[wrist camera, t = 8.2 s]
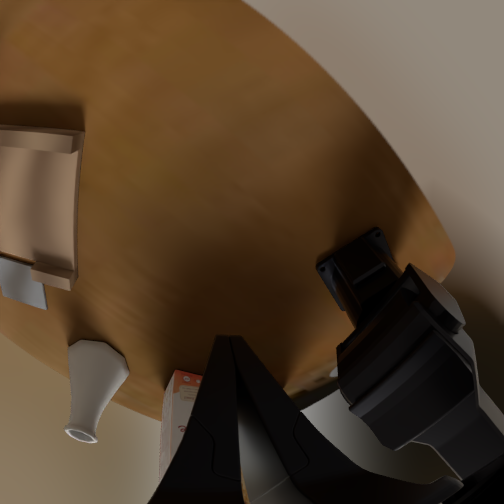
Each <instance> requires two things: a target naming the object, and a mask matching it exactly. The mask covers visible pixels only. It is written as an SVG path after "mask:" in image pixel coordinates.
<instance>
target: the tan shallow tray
mask: <svg viewBox="0 0 504 504" xmlns="http://www.w3.org/2000/svg"><path fill="white" fill-rule="evenodd" d="M84 136H85V132H84V131H76V130H67V129H57V128H46V127H34V126H18V125H0V251H2V252H5V253H9V254H12V255H16V256H19V257H23V258H26V259H30V260H34V261H36V262H35V263H34V265H31V264H27V263H24V262H20V261H17V260H13V259H10V258H6V257H3V256H0V285H1V289H2V293H3V296H5V297H8V298H11V299H14V300H17V301H20V302H23V303H26V304H29V305H32V306H35V307H38V308H41V309H45V310H47V309H48V307H47V301H46V296H45V289H44V284H46V285H50V286H54V287H57V288H61V289H65V290H68V291H70V290H71V289H72V287H73V285H74V283H75V282H76V280H77V278H78V263H77V212H78V192H79V179H80V168H81V159H82V150H83V143H84Z"/></svg>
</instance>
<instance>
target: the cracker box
mask: <svg viewBox="0 0 504 504" xmlns="http://www.w3.org/2000/svg"><path fill="white" fill-rule="evenodd" d="M201 379H202V376H201V375H197V374H192V373H188V372H184V371H180V370H175V371H174V374H173V375H172V378H171V380H170V382H169V384H168V386H167V388H166V391H165V393H164V398H163V410H162V423H161V440H160V466H159V467H160V468H159V483H160V482H161V480H162V478H163V476H164V474H165V472H166V470H167V468H168V466H169V464H170V462H171V460H172V459H173V457H174V455H175V453H176V451H177V448H178V446H179V444H180V442H181V440H182V437H183V434H184V432H185V429H186V426H187V423H188V420H189V417H190V414H191V411H192V408H193V404H194V401H195V398H196V395H197V392H198V389H199V386H200V383H201ZM241 483H242V492H243V498H244V502H245V504H250V502H249V498H248V494H247V490H246V486H245V482H244V478H243V474H242V469H241Z"/></svg>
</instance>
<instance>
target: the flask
mask: <svg viewBox="0 0 504 504" xmlns="http://www.w3.org/2000/svg"><path fill="white" fill-rule="evenodd" d="M68 361H69V373H70V386H71V396H72V399H71V415H70V420H69V423H68V425H66V426H65V427H64V430H65V431H66V432H67V434H68V435H69V436H71V437H73V438H75V439H77V440H79V441H83V442H88V443H95V442H97V437H96V435H95V433H96V427H97V423H98V421H99V419H100V416H101V414H102V411H103V410H104V408H105V406H106V405H107V404H108V402H109V401H110V399H111V398H112V397H113V395H114V394H115V392H116V391H117V390H118V388H119V387H120V386H121V384H122V383H123V382H124V381H125V379H126V378H127V376H128V375H129V374H130V373H129V370H128V367H127V364H126V361H125V358H124V357H123V356H121V355H120V354H119V353H118V352H116V351H115V350H114V349H112V348H111V347H110V346H109V345H108V344H106V343H105V342H97V341H88V340H79V341H78V342H76V343H75V344H73V345H71V346H70V347H68Z"/></svg>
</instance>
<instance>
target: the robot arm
mask: <svg viewBox="0 0 504 504" xmlns="http://www.w3.org/2000/svg"><path fill="white" fill-rule="evenodd" d="M377 232H378V234H377V235H376V233H377ZM321 267H324V268H323V269H321ZM316 270H317V271H318V273H319V275H320V276H321V278H322V280H323V281H324V283H325V284H326V286H327V288H328V289H329V291H330V293H331V294H332V296H333V297H334V299H335V301H336V302H337V304H338V306H339V307H340V309H341V310H342V311H346V313H347V315H348V317H349V319H350V321H351V322H352V324H353V326H354V328H355V330H354V331H353V332H352V333H351V334H350V335H349V336H348V337H347V339H346V340H345V341H344V342H343V343H340V344H339V345H338V346H337V347H336V352H337V368H338V379H337V384H338V386H339V389H340V392H341V394H342V396H343V397H344V399H345V400H346V401H347V403H349V405H350V407H349V410H350V411H351V412H352V413H354V414H355V415H356V416H358V417H359V418H361V419H362V420H363V421H364V422H365V423H366V424H367V425H368V426H369V427H370V429H371V430H372V431H373V432H374V434H375V435H376V437H377V438H378V440H379V441H380V442H381V444H382V445H384V446H386V447H388V448H390V449H392V450H394V451H395V450H398V449H400V448H401V447H403V446H404V445H406V444H407V443H409V442H411V441H412V442H417V443H422V444H427V445H430V446H431V447H432V448H433V449H434V450H435V451H436V452H437V453H438V455H439V456H440V457H441V458H442V459H443V460H444V461H445V462H446V464H447V465H448V466H449V467H450V468H451V469H452V470H453V471H454V472H455V473H456V475H457V476H458V477H459V478H460V479H461V481H459V480H457V479H455V478H452V477H449V476H443V477H441V478H439V479H438V480H436V481H434V482H432V483H430V484H415V483H411V482H406V481H402V480H398V479H394V478H390V477H386V476H383V475H379V474H375V473H372V472H369V471H367V470H365V469H362V468H361V467H359V466H358V465H356V464H355V463H354V462H352V461H351V460H350V459H349V458H348V457H347V456H346V455H344V454H343V453H342V452H341V451H340V450H339V449H337V448H336V447H335V446H334V445H333V444H332V443H331V442H330V441H329V440H327V439H326V438H325V437H324V436H323V435H322V434H321V433H320V432H319V431H318V430H317V429H316V428H315V427H314V425H313V424H312V423H311V422H310V421H309V420H308V419H307V418H306V416H305V415H304V414H303V413H302V412H300V409H299V408H298V407H297V406H296V405H295V403H294V402H293V401H292V400H291V398H290V397H289V396H288V395H287V394H286V392H285V391H284V390H283V389H282V387H281V386H280V385H279V384H278V382H277V381H276V380H275V379H274V377H273V376H272V375H271V374H270V372H269V371H268V370H267V369H266V367H265V366H264V365H263V363H262V362H261V361H260V360H259V358H258V357H257V356H256V354H255V353H254V352H253V350H252V349H251V348H250V347H249V345H248V344H247V343H246V341H245V340H244V339H243V337H242V336H239V335H230V336H229V337H228V335H216V336H215V339H214V342H213V345H212V348H211V351H210V355H209V358H208V361H207V364H206V367H205V370H204V373H203V376H202V379H201V383H200V386H199V389H198V392H197V395H196V398H195V401H194V404H193V408H192V411H191V414H190V417H189V420H188V423H187V426H186V429H185V432H184V434H183V437H182V440H181V442H180V444H179V446H178V448H177V451H176V453H175V455H174V457H173V459H172V460H171V462H170V464H169V466H168V468H167V470H166V472H165V474H164V476H163V478H162V480H161V482H160V483H159V485H158V487H157V489H156V491H155V492H154V494H153V496H152V497H151V499H150V500H149V502H148V503H147V504H245V502H244V498H243V492H242V483H241V469H242V474H243V478H244V482H245V486H246V490H247V494H248V498H249V502H250V504H504V415H503V414H502V413H501V411H500V410H499V409H498V408H497V406H496V405H495V404H494V403H493V401H492V400H491V399H490V398H489V397H488V395H487V394H486V393H485V392H484V390H483V389H482V388H481V387H480V385H479V381H478V372H477V364H476V358H475V351H474V345H473V342H472V340H471V339H470V337H469V336H468V335H467V334H466V333H465V332H464V330H463V329H462V327H463V326H464V325H465V321H464V318H463V316H462V313H461V311H460V309H459V306H458V304H457V302H456V300H455V299H454V298H453V297H452V296H451V295H450V294H449V293H448V292H447V291H446V290H445V289H444V288H443V287H442V286H441V284H439V283H438V282H437V281H436V280H434V279H433V278H431V277H430V276H428V275H427V274H426V273H424V272H423V271H421V270H420V269H418V268H417V267H415V266H414V265H412V264H411V263H409V264H408V265H407V267H406V268H405V271H404V273H403V272H402V271H401V270H400V268H399V267H398V266H397V265H396V264H395V263H394V261H393V258H392V255H391V253H390V250H389V247H388V244H387V242H386V239H385V236H384V234H383V231H382V230H381V229H380V228H379V227H375V228H373V229H372V230H370V231H369V232H367V233H366V234H364V235H362V236H361V237H359V238H358V239H356V240H355V241H353V242H351V243H350V244H348V245H347V246H345V247H343V248H342V249H340V250H339V251H337V252H335V253H334V254H332V255H331V256H329V257H327V258H326V259H324V260H322V261H321V262H319V263H318V264H317V265H316Z"/></svg>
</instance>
